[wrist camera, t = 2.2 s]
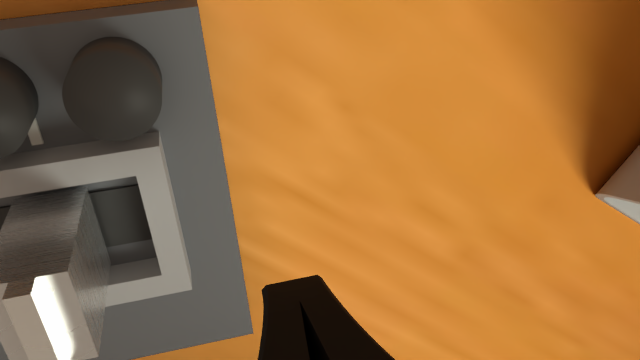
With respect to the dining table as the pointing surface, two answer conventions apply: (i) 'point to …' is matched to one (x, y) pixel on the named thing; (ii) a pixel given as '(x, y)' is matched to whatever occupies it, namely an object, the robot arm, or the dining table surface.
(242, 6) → the dining table surface
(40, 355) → the fader tab
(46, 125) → the console board
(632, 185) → the grey angular block
